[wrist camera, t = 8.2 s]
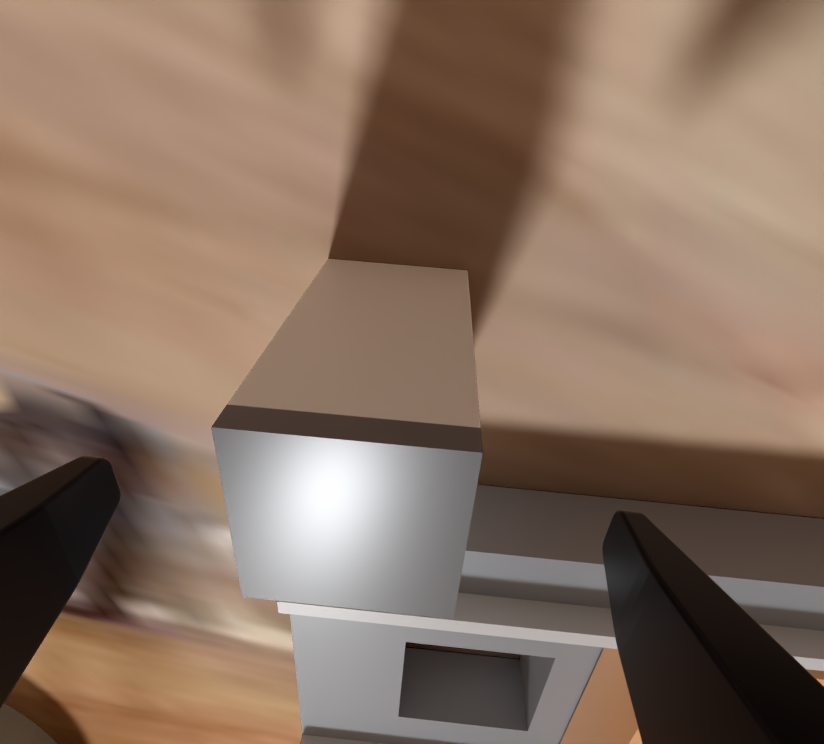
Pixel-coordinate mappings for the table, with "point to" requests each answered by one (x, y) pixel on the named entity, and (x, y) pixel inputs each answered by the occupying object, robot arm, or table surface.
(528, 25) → the table surface
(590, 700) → the shutter
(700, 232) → the table surface
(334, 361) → the plug
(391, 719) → the socket plate
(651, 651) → the robot arm
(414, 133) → the table surface
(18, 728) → the cake pan
